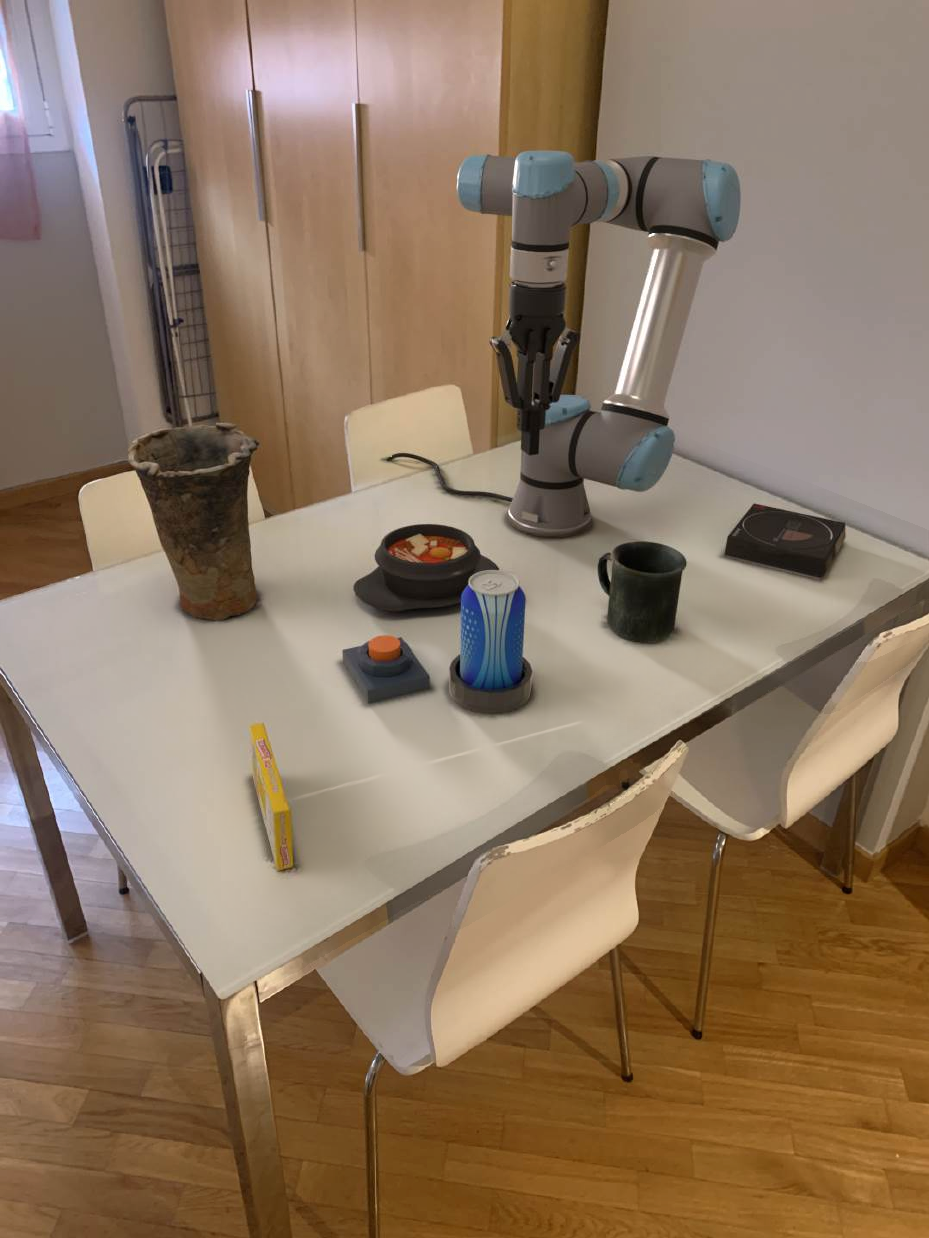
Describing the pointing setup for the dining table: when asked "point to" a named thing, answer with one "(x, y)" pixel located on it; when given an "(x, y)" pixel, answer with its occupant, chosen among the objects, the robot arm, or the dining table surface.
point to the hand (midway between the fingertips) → (529, 451)
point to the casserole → (421, 568)
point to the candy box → (271, 797)
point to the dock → (489, 692)
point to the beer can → (492, 630)
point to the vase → (201, 513)
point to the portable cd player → (786, 541)
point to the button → (384, 648)
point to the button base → (385, 673)
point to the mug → (642, 589)
